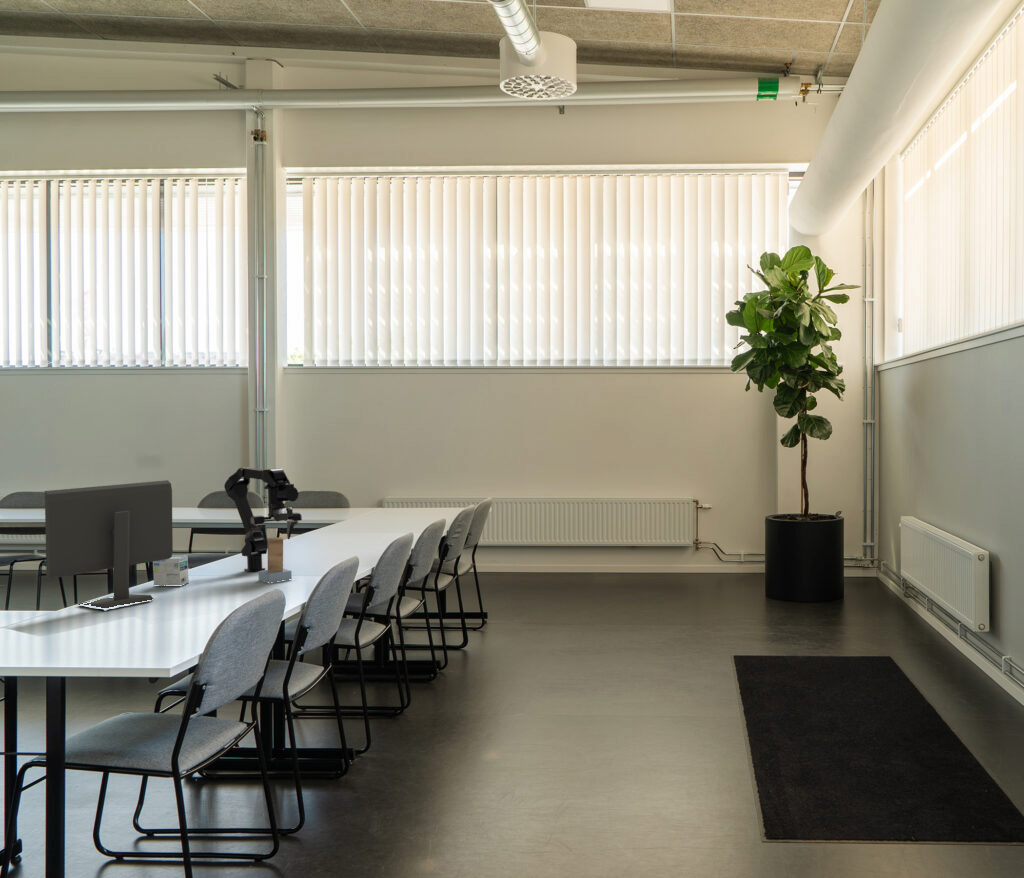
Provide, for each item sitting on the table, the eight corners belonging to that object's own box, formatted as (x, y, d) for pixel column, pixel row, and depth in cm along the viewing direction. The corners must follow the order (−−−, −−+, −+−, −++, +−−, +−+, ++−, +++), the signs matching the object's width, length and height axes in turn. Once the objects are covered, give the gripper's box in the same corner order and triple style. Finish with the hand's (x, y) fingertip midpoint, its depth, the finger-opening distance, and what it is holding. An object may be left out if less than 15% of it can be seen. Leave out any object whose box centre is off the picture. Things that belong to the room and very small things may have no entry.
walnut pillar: (267, 569, 340) (267, 538, 340) (281, 568, 342) (281, 537, 342) (269, 572, 336) (269, 540, 335) (283, 571, 338) (283, 539, 337)
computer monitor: (159, 590, 325) (155, 479, 324) (187, 594, 316) (182, 480, 314) (38, 614, 290) (32, 490, 288) (64, 620, 280) (59, 491, 279)
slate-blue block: (258, 581, 339) (258, 571, 339) (280, 578, 345) (280, 568, 345) (269, 584, 333) (269, 574, 332) (291, 581, 338) (291, 570, 338)
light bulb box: (189, 583, 337) (188, 555, 337) (181, 587, 330) (179, 558, 330) (162, 583, 338) (160, 555, 338) (153, 587, 331) (151, 558, 331)
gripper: (257, 504, 341) (259, 545, 342) (305, 500, 351) (307, 540, 352) (249, 501, 351) (251, 541, 351) (296, 498, 361) (297, 537, 361)
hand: (277, 540), depth 354 cm, fingers open, 9 cm apart
